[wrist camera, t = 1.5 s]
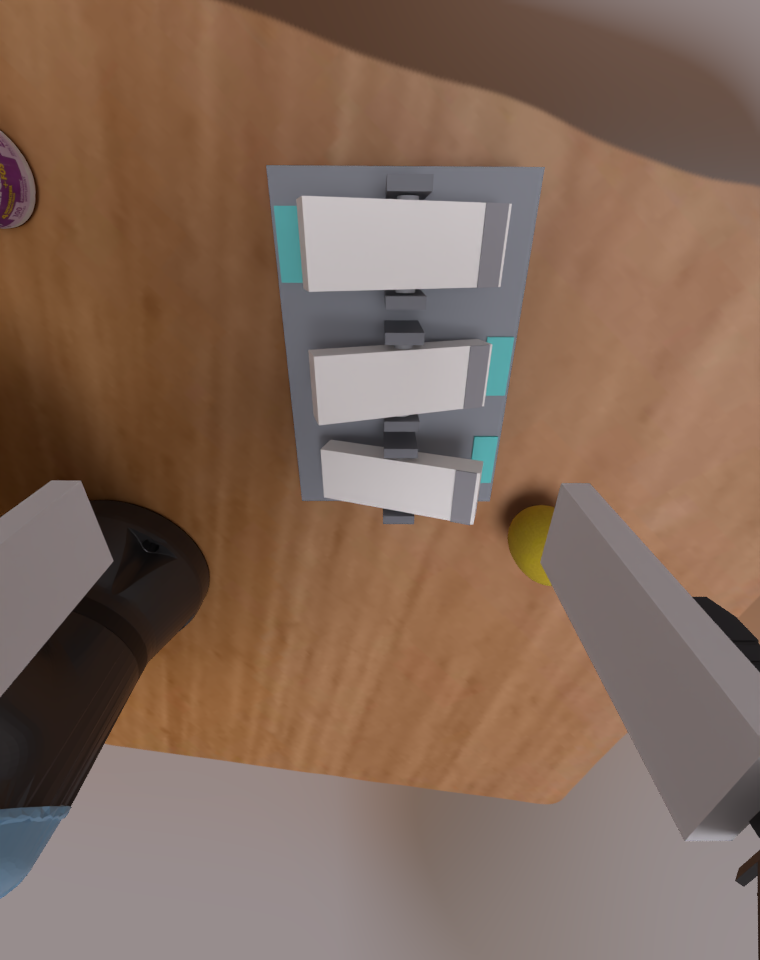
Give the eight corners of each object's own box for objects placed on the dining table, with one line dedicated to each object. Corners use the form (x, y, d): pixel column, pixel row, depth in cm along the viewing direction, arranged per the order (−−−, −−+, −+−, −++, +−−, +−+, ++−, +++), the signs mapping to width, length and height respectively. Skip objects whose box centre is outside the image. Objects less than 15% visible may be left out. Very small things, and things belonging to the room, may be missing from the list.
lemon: (486, 508, 36) (512, 571, 29) (545, 476, 34) (588, 535, 27) (514, 549, 38) (544, 616, 31) (571, 521, 36) (616, 586, 29)
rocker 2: (313, 418, 23) (319, 429, 22) (307, 345, 21) (313, 352, 20) (470, 401, 26) (484, 410, 25) (478, 335, 24) (493, 341, 23)
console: (309, 474, 34) (292, 533, 27) (282, 176, 24) (243, 149, 17) (478, 475, 34) (503, 534, 27) (520, 178, 24) (578, 151, 17)
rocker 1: (303, 293, 20) (309, 297, 19) (295, 193, 18) (301, 189, 17) (484, 288, 23) (500, 291, 21) (494, 201, 21) (513, 198, 19)
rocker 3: (333, 488, 29) (323, 500, 28) (330, 436, 27) (319, 447, 26) (475, 513, 27) (472, 528, 25) (483, 458, 25) (481, 471, 23)
